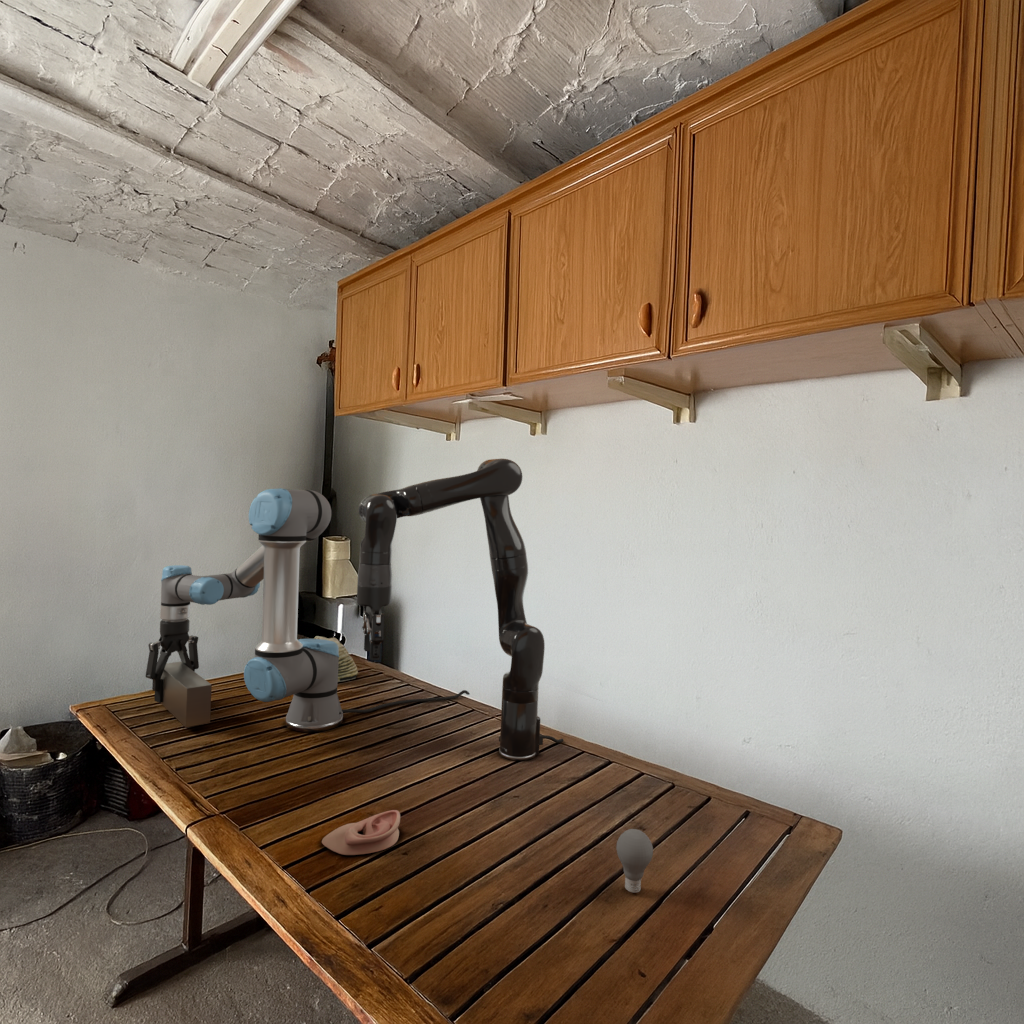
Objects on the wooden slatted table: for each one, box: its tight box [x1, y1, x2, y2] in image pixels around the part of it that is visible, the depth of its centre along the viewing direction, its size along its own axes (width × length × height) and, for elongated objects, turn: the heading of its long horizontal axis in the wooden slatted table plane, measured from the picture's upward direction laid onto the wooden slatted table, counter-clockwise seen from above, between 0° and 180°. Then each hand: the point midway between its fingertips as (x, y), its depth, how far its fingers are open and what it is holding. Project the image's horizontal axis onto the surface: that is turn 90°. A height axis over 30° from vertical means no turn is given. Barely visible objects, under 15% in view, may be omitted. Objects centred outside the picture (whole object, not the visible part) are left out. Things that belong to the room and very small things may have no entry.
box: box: [160, 661, 213, 728], centre depth 176 cm, size 27×6×10 cm, turn 43°
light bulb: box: [615, 828, 654, 894], centre depth 106 cm, size 6×6×10 cm
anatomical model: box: [321, 809, 401, 856], centre depth 118 cm, size 13×4×12 cm
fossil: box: [313, 635, 359, 683], centre depth 217 cm, size 9×18×15 cm, turn 132°
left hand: (171, 697), depth 183 cm, fingers closed on box, 7 cm apart
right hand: (371, 655), depth 142 cm, fingers open, 8 cm apart
